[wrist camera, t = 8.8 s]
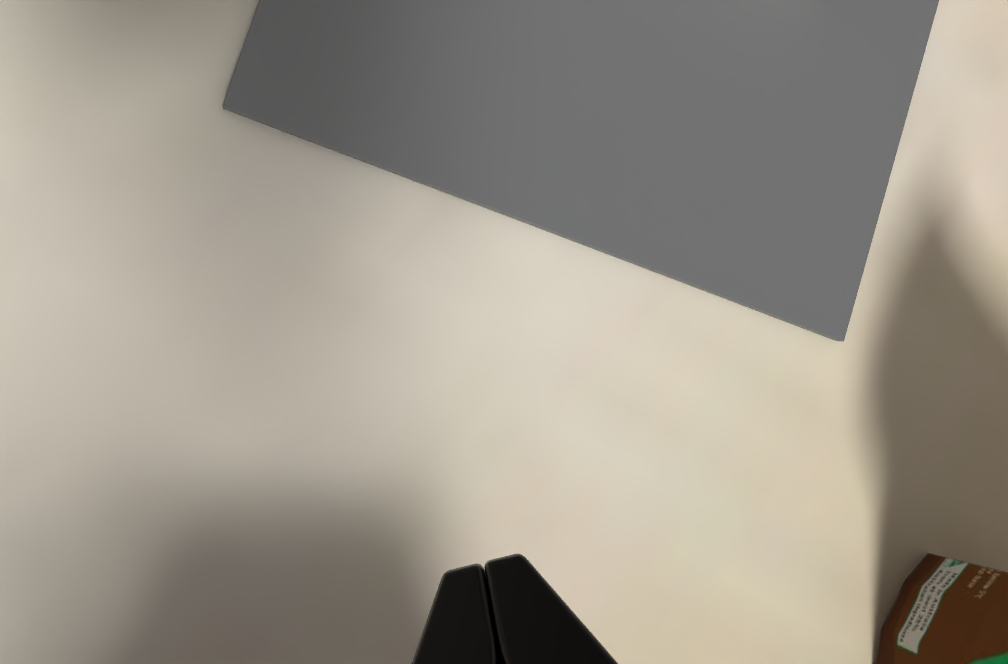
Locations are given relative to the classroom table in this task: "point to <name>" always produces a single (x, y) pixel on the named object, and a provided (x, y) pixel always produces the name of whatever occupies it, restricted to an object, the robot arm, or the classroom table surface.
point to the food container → (948, 616)
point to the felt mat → (622, 123)
